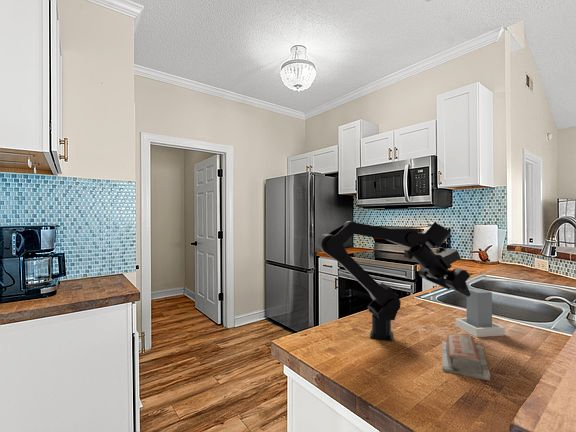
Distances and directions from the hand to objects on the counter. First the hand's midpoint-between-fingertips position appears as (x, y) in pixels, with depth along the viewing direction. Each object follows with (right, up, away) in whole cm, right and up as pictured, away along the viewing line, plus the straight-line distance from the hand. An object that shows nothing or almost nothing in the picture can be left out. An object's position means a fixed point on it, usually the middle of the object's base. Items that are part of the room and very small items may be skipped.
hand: (459, 291), depth 98 cm
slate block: (+7, -13, +1) cm, 15 cm away
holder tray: (+7, -13, +1) cm, 15 cm away
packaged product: (-10, -14, -19) cm, 25 cm away
